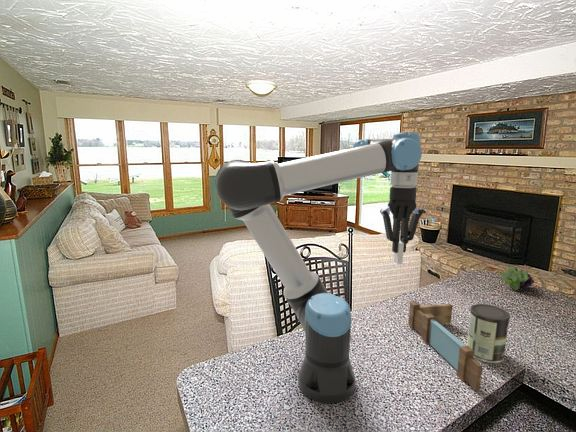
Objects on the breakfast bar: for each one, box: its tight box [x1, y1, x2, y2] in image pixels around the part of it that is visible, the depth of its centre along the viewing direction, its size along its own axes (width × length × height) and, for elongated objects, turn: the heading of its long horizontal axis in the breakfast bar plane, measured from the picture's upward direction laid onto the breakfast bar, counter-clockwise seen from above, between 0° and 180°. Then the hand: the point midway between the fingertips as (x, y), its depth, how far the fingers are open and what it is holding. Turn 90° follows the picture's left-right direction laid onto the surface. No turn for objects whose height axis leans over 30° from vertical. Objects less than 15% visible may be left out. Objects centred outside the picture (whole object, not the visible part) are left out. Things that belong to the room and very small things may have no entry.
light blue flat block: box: [428, 319, 467, 371], centre depth 101 cm, size 15×2×8 cm, turn 10°
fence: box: [408, 301, 483, 391], centre depth 104 cm, size 15×34×9 cm, turn 8°
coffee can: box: [466, 303, 511, 364], centre depth 103 cm, size 10×10×14 cm
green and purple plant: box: [500, 266, 535, 292], centre depth 152 cm, size 10×11×15 cm
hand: (398, 262), depth 104 cm, fingers closed
